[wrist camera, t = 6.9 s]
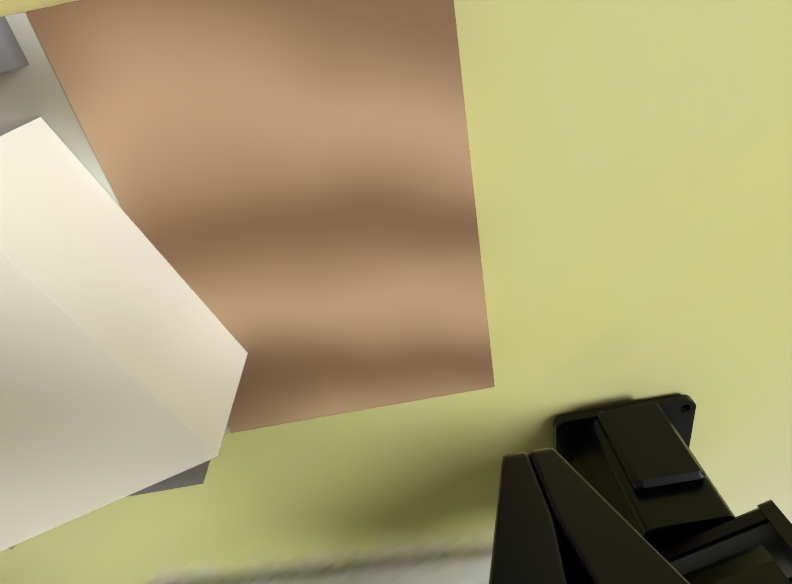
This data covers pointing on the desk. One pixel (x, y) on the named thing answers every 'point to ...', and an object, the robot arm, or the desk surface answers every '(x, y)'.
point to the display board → (282, 181)
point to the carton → (94, 347)
